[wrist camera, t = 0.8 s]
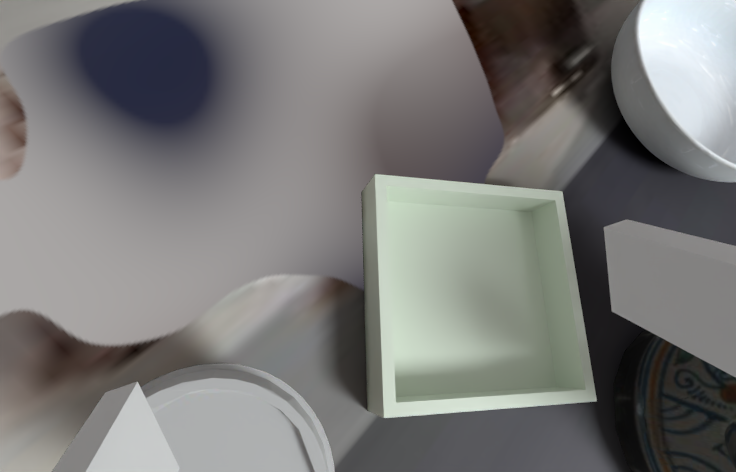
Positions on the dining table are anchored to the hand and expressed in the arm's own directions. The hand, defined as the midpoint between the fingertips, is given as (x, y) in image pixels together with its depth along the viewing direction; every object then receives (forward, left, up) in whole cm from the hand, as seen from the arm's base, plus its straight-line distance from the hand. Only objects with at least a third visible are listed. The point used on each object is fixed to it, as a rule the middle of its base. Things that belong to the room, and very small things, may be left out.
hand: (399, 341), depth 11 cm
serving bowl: (-24, +38, -18) cm, 48 cm away
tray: (-4, +12, -18) cm, 22 cm away
